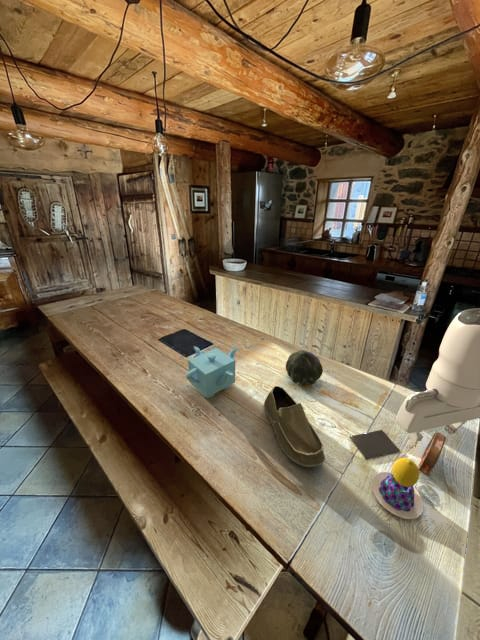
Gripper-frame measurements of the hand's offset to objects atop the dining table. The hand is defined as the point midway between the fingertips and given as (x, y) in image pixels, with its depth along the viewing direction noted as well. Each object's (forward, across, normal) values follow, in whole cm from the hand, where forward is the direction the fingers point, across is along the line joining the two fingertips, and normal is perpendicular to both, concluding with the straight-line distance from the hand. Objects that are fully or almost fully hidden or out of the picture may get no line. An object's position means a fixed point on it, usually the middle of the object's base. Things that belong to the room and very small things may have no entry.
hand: (432, 435), depth 59 cm
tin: (+23, +14, +7) cm, 28 cm away
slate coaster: (+23, +3, +16) cm, 28 cm away
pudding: (+23, -2, +1) cm, 23 cm away
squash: (+23, -5, +51) cm, 56 cm away
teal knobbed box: (+22, -42, +55) cm, 73 cm away
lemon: (+18, -2, +1) cm, 18 cm away
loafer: (+22, -22, +26) cm, 41 cm away
